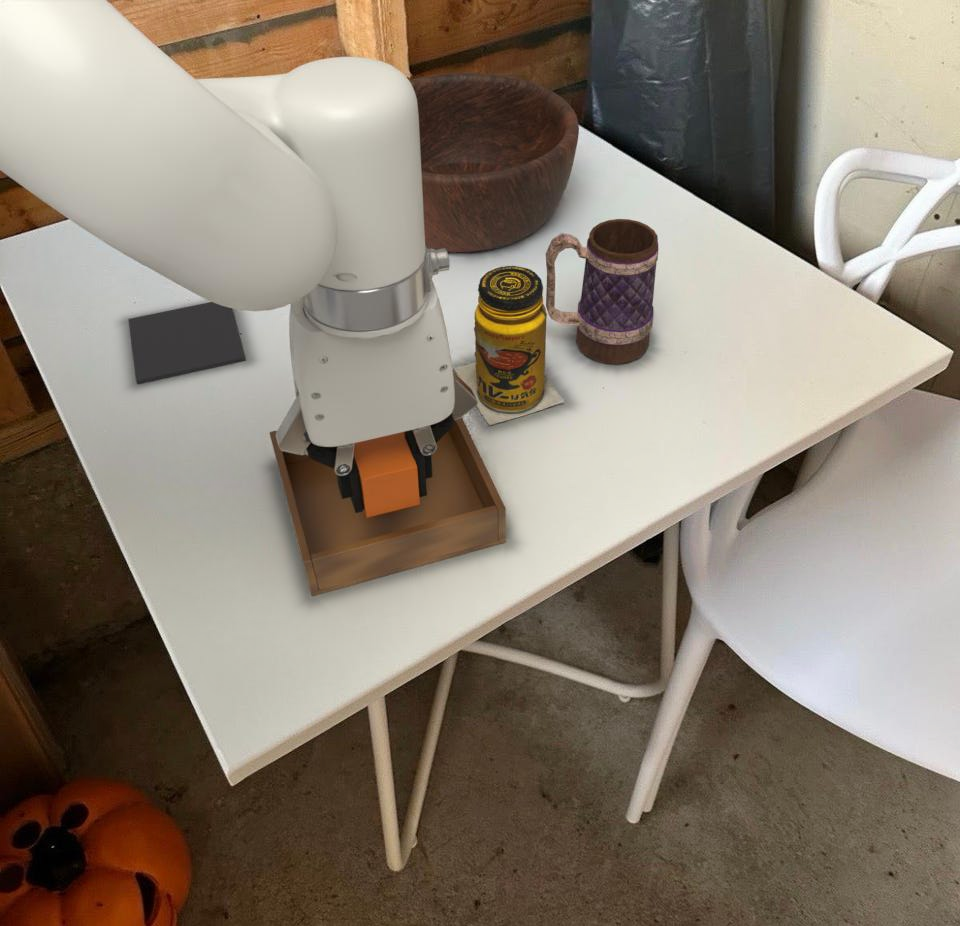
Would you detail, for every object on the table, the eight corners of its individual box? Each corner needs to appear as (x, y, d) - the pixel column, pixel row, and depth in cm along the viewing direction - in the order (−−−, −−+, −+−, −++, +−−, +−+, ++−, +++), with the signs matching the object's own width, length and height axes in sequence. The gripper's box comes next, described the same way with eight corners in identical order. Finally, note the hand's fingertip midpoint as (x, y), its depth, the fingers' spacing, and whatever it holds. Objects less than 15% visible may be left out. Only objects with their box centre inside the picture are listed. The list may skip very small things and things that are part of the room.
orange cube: (366, 518, 67) (361, 479, 64) (353, 480, 69) (348, 441, 66) (420, 504, 67) (417, 466, 65) (405, 467, 70) (402, 429, 67)
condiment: (489, 427, 80) (487, 315, 72) (453, 369, 86) (447, 259, 77) (564, 404, 82) (571, 292, 74) (524, 349, 88) (527, 239, 79)
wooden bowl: (581, 160, 113) (587, 76, 106) (563, 277, 96) (569, 186, 89) (382, 148, 116) (374, 66, 109) (330, 260, 99) (316, 171, 91)
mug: (644, 319, 91) (658, 210, 82) (654, 366, 86) (671, 255, 77) (540, 321, 91) (543, 212, 82) (544, 368, 86) (548, 257, 77)
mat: (137, 384, 85) (135, 380, 85) (129, 321, 92) (128, 318, 92) (245, 360, 87) (244, 357, 87) (230, 301, 94) (229, 297, 94)
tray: (311, 596, 68) (303, 562, 65) (277, 466, 78) (269, 431, 75) (505, 542, 71) (505, 508, 69) (450, 423, 81) (448, 389, 78)
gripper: (476, 226, 60) (477, 432, 73) (214, 273, 56) (264, 482, 69) (517, 289, 55) (510, 499, 68) (231, 346, 51) (282, 557, 64)
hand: (386, 489), depth 68 cm, fingers closed on orange cube, 4 cm apart
